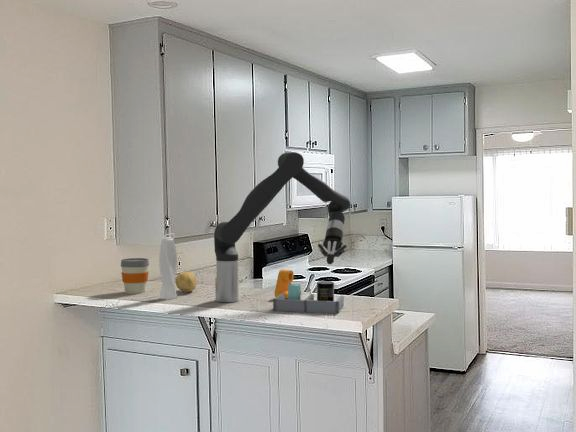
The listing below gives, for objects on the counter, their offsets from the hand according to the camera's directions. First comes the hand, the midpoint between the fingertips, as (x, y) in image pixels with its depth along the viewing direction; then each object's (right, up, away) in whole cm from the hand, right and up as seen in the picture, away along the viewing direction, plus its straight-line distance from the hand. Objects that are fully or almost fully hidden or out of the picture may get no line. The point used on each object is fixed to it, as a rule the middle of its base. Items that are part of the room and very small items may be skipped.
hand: (329, 263), depth 262 cm
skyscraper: (-69, -16, +7) cm, 72 cm away
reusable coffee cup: (-88, -15, +22) cm, 92 cm away
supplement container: (-3, -17, -17) cm, 24 cm away
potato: (-64, -15, +23) cm, 70 cm away
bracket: (-17, -16, +8) cm, 25 cm away
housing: (-9, -17, -16) cm, 25 cm away
